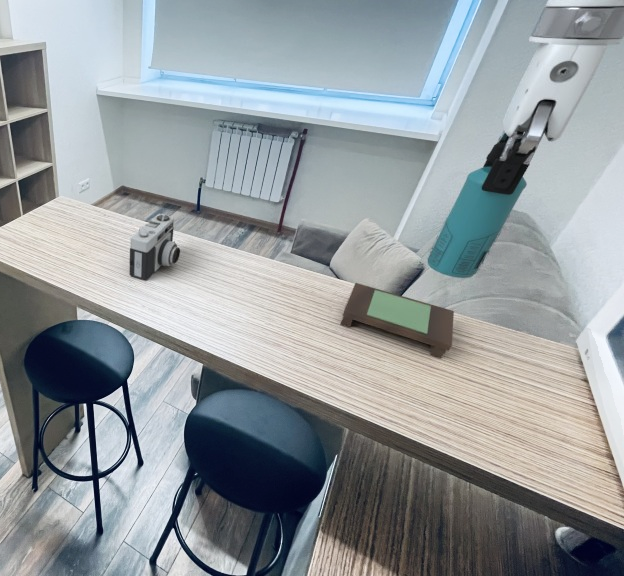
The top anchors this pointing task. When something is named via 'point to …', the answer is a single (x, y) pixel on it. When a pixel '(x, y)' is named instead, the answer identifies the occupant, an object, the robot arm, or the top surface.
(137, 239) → the camera
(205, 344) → the top surface
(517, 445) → the top surface
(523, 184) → the beverage bottle
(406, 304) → the shelf
